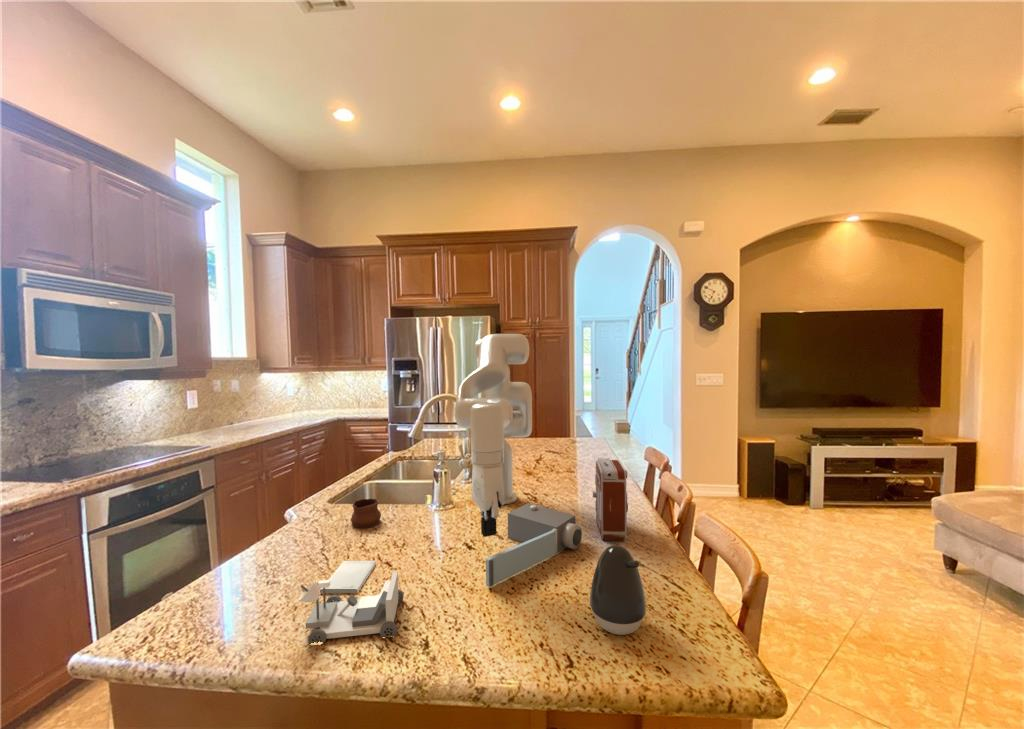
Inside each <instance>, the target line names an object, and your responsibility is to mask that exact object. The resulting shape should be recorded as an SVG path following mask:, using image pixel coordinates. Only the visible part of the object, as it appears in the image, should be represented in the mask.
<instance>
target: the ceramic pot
mask: <svg viewBox="0 0 1024 729" xmlns="http://www.w3.org/2000/svg"><path fill="white" fill-rule="evenodd" d="M379 503H380V501H379V499H376V498H367V499H366V498H362V499H358V500H355V501H354V502H353V503H352V508H353V512H352V515H351V518H350V521H351V524H352V526H353V527H354V528H355V529H369V528H372V527H375V526H377V525H379V523H380V521H381V520H380V519H381V517H382V513H381V511H380V509H378V505H379ZM334 529H335V532H336V533H338V528H337V526H335V527H334Z"/></svg>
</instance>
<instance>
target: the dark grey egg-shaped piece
mask: <svg viewBox="0 0 1024 729" xmlns="http://www.w3.org/2000/svg"><path fill="white" fill-rule="evenodd" d="M639 567H640V563H639V561H637V560H635V559H634V557H633V555H632V553H631V551H629V549H628V548H626V546H624V545H621V544H617V543H616V544H610V545H609V546H607V547H606V548H605V549H604V550H603V551H602V553H601V554H600V556H599V559H598V561H597V564H596V567H595V569H594V573H593V575H592V576H593V577H592V582H591V587H590V595H589V606H590V609H591V610H592V613H593V616H594V618H595V620H596V622H597V623H598V625H599V626H600V627H601V628H602V629H604V631H606V632H609V633H610V634H613V635H618V636H621V635H622V636H625V635H629V634H633V633H634V632H636V631H637V630H638V629H639V627H640V626H641V625H642V622H643V619H644V617H645V616H646V612H647V609H646V608H647V607H646V606H647V605H646V597H645V590H644V585H643V582H642V578H641V574H640V572H639Z"/></svg>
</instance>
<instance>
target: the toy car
mask: <svg viewBox="0 0 1024 729" xmlns="http://www.w3.org/2000/svg"><path fill="white" fill-rule="evenodd" d="M329 586H330V580H329V579H325V580H318V582H317V580H314V581H313V582H312V583H311V584H309V586H308V587H305V585H303V584H301V585H300V586H299V587H300V588H301V589H302V590H304V592H303V593H301V595H300V596H299V597H298V598H299V599H298V600H297V601H298V602H302V603H313V602H316V603H315V605H314V606H313V609H312V610H311V612H310V614H309V616H308V618H307V620H306V622H305V630H306V629H307V630H308V629H314V630H312V631H311V632H310V633H309V635H308V637H307V644H308V645H309V644H311V643H314V642H317V643H318V642H319V640H320V642H323V643H324V642H325V643H326V642H327V641H326V640H327V639H338V638H344V637H345V638H347V637H353V636H354V637H355V636H356V637H358V636H364V635H374V634H380V635H379V636H380V637H381V638H382V637H388V636H395V637H396V636H397V632H398V626H397V624H396V623H395V619H396V614H397V609H398V604H400V603H402V602H403V600H404V592H403V591H402V589H400V588H399V572H398V571H392V574H391V578H390V580H388V579H387V580H385V582H384V585H383V586H382V588H381V590H380V593H378V594H377V595H367V596H360V598H357V597H355V596H354V595H352V594H350V595H349V596H348V597H347V598H346V600H342V598H341V596H340V595H339V594H330V596H329V597H327V598H326V596H327V594H325V588H329ZM321 588H323V594H322V596H323V599H322V601H323V603H322V602H321V603H320V600H319V598H320V590H319V589H321ZM316 628H317V629H316ZM325 643H324V644H325Z"/></svg>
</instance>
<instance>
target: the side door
mask: <svg viewBox="0 0 1024 729" xmlns="http://www.w3.org/2000/svg"><path fill="white" fill-rule="evenodd" d="M554 556H555V557H556V556H558V554H557V529H552V531H549V532H547V533H545V534H542V535H540V536H538V537H535V538H533V539H531V540H528V541H526V542H524V543H521V542H520V543H519V544H517V545H514V546H512V547H510V548H508V549H504V550H503V551H500V552H498V553H495V554H493V555H491V556H488V557H486V558H485V587H487V588H491V587H494V585H497V584H498V583H500V582H503V581H505V580H507V579H509V578H511V577H513V576H515V575H517V574H519V573H522V572H523V571H526V570H527V569H529V568H531V567H534V566H535V565H538V564H539V563H540V564H541V562H543V561H546V560H549V558H552V557H554Z"/></svg>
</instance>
